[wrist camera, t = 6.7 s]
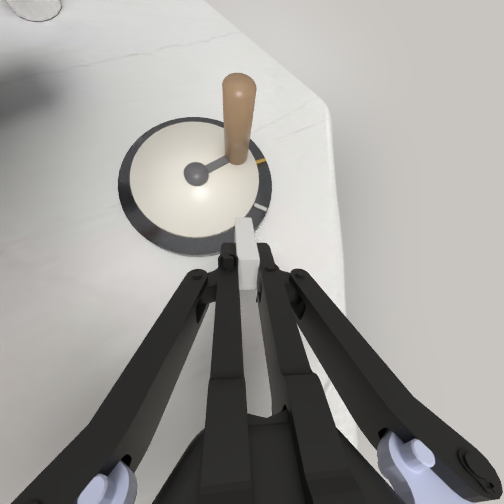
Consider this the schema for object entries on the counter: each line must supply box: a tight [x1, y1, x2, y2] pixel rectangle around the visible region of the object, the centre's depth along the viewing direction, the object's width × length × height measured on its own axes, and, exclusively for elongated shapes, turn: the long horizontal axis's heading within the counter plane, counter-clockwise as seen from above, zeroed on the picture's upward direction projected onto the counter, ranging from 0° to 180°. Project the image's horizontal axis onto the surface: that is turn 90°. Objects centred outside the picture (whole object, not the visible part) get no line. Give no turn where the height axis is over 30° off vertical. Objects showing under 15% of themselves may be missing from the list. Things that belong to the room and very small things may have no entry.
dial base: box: [118, 117, 272, 257], centre depth 27 cm, size 20×20×2 cm
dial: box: [130, 73, 259, 238], centre depth 21 cm, size 16×16×10 cm
